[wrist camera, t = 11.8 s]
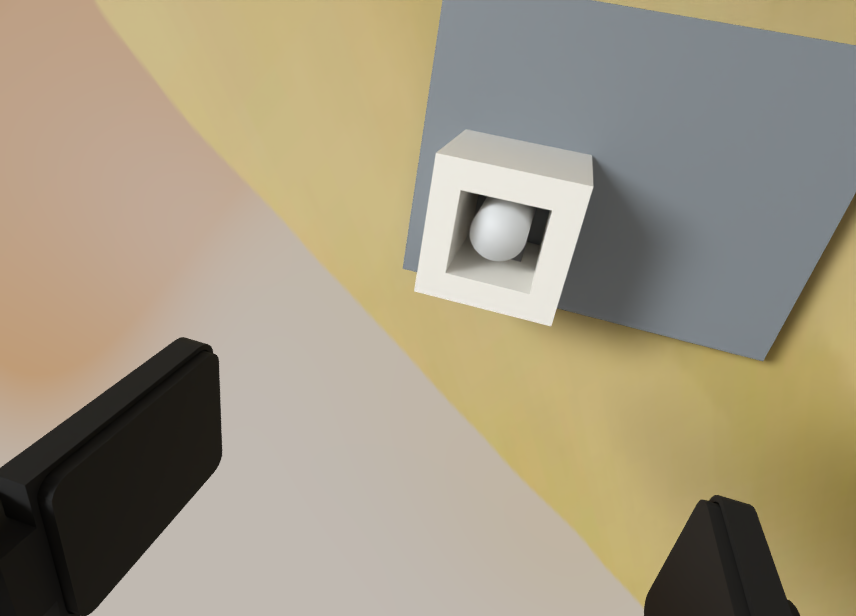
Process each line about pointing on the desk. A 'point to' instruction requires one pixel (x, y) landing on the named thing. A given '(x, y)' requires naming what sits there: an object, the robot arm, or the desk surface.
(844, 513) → the desk surface
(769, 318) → the post board
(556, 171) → the white hollow cube
